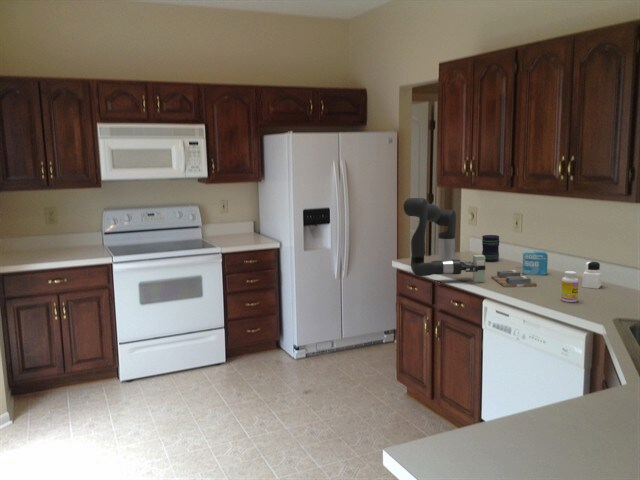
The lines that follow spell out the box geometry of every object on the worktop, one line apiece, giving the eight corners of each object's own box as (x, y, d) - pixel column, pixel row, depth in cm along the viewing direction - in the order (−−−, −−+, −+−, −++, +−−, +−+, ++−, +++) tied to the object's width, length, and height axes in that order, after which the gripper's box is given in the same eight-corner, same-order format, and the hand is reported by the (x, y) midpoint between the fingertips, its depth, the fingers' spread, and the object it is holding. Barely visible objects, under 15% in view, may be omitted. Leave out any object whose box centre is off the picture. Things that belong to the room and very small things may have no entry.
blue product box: (522, 274, 301) (523, 252, 299) (522, 272, 305) (523, 250, 303) (547, 275, 298) (547, 253, 296) (546, 273, 302) (547, 251, 300)
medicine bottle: (601, 285, 273) (602, 261, 271) (598, 289, 267) (599, 264, 265) (584, 284, 277) (586, 260, 275) (582, 287, 271) (583, 262, 269)
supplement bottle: (572, 303, 245) (573, 274, 243) (558, 300, 250) (559, 272, 248) (580, 300, 248) (581, 272, 246) (566, 297, 254) (567, 269, 252)
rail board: (491, 277, 295) (491, 270, 295) (521, 277, 296) (522, 269, 295) (503, 287, 276) (504, 279, 275) (536, 286, 276) (536, 278, 275)
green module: (472, 279, 293) (472, 255, 291) (482, 279, 293) (482, 254, 291) (475, 281, 288) (475, 256, 286) (484, 281, 288) (485, 256, 286)
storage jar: (478, 259, 343) (479, 235, 341) (493, 258, 345) (494, 234, 342) (486, 262, 333) (487, 237, 331) (502, 261, 335) (502, 236, 333)
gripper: (454, 262, 282) (487, 261, 282) (447, 257, 296) (479, 256, 296) (454, 277, 283) (487, 276, 283) (447, 271, 297) (478, 270, 297)
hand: (482, 266), depth 289 cm, fingers open, 7 cm apart
